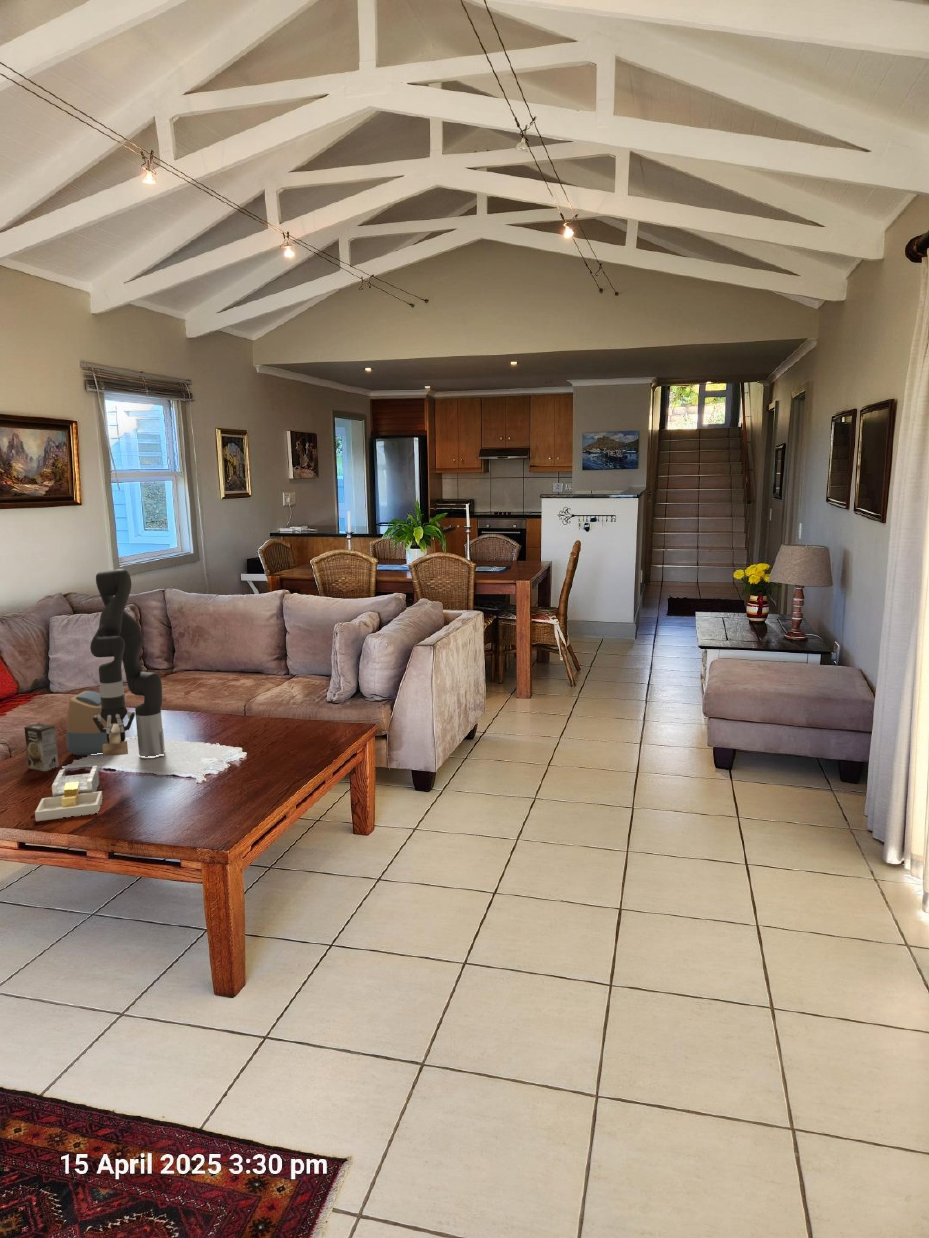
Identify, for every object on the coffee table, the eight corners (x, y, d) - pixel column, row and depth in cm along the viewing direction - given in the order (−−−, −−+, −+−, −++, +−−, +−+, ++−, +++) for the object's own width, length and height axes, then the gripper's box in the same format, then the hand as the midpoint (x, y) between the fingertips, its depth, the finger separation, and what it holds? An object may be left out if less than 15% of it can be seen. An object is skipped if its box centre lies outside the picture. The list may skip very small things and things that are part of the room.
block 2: (77, 793, 261) (75, 797, 257) (78, 804, 261) (76, 809, 257) (63, 794, 259) (61, 799, 256) (64, 806, 260) (62, 811, 256)
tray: (102, 799, 267) (101, 791, 266) (98, 813, 256) (97, 804, 255) (43, 806, 262) (42, 798, 261) (35, 821, 250) (34, 812, 250)
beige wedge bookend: (103, 756, 267) (101, 736, 266) (108, 744, 280) (106, 724, 279) (127, 754, 269) (125, 734, 268) (131, 741, 282) (129, 722, 281)
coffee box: (27, 768, 298) (23, 727, 295) (43, 762, 304) (38, 722, 301) (44, 771, 294) (39, 729, 291) (59, 766, 300) (55, 724, 297)
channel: (99, 782, 282) (97, 765, 281) (93, 799, 267) (91, 781, 266) (61, 787, 278) (60, 769, 277) (53, 804, 263) (51, 785, 262)
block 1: (80, 791, 265) (78, 781, 264) (78, 798, 261) (77, 788, 260) (67, 793, 264) (65, 783, 262) (65, 800, 260) (63, 790, 259)
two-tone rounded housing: (106, 757, 309) (101, 699, 305) (64, 757, 310) (58, 699, 306) (125, 743, 326) (120, 688, 322) (85, 743, 326) (79, 688, 322)
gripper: (135, 689, 276) (139, 737, 279) (91, 693, 272) (95, 741, 275) (133, 694, 269) (137, 743, 272) (88, 698, 265) (92, 748, 267)
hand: (116, 742), depth 273 cm, fingers closed on beige wedge bookend, 3 cm apart
